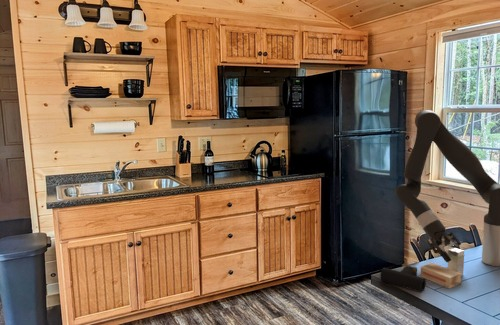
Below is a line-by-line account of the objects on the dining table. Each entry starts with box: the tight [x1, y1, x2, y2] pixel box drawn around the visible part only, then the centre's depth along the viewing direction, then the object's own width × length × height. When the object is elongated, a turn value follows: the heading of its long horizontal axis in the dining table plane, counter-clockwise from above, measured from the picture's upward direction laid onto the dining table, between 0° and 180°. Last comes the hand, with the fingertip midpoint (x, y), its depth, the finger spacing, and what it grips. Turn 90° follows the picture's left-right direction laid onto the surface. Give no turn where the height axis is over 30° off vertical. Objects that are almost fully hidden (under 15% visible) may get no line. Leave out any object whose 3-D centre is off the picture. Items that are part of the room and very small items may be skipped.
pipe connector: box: [379, 264, 427, 293], centre depth 144 cm, size 12×5×15 cm
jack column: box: [447, 248, 465, 277], centre depth 149 cm, size 4×4×10 cm
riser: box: [420, 262, 462, 289], centre depth 145 cm, size 7×12×4 cm, turn 29°
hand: (455, 259), depth 149 cm, fingers open, 8 cm apart
